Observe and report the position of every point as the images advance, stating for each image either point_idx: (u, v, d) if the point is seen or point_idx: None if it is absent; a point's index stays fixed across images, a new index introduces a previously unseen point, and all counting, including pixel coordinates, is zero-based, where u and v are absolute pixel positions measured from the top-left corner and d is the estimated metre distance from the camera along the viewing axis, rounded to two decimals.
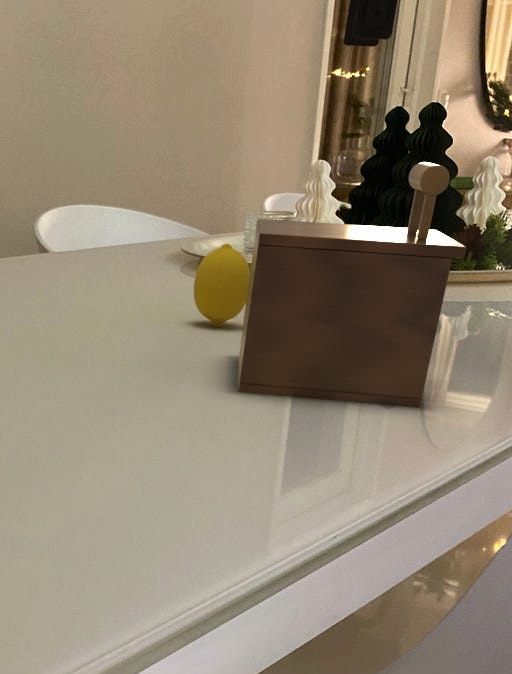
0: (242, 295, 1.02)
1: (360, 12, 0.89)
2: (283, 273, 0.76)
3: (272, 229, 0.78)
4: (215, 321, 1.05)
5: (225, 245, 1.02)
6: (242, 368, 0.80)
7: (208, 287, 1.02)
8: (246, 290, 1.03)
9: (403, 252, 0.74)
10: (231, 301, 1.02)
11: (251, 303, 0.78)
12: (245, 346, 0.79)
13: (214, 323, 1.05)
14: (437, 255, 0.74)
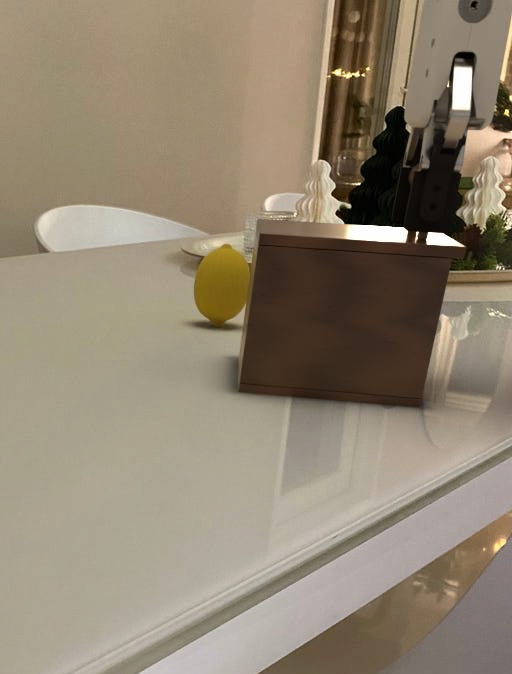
0: (242, 295, 1.02)
1: (413, 203, 0.75)
2: (283, 273, 0.76)
3: (272, 229, 0.78)
4: (215, 321, 1.05)
5: (225, 245, 1.02)
6: (242, 368, 0.80)
7: (208, 288, 1.02)
8: (246, 290, 1.03)
9: (403, 252, 0.74)
10: (231, 301, 1.02)
11: (251, 303, 0.78)
12: (245, 346, 0.79)
13: (214, 323, 1.05)
14: (437, 255, 0.74)
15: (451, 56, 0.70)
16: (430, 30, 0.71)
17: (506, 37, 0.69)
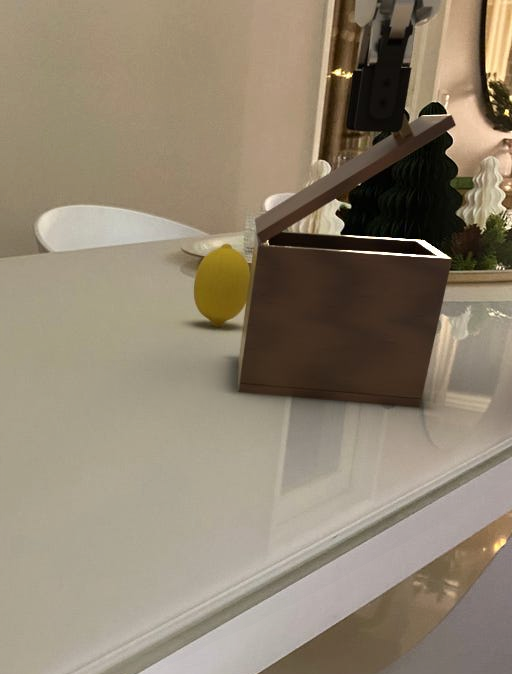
0: (242, 295, 1.02)
1: (363, 101, 0.73)
2: (283, 273, 0.76)
3: (267, 222, 0.78)
4: (215, 321, 1.05)
5: (225, 245, 1.02)
6: (242, 368, 0.80)
7: (208, 287, 1.02)
8: (246, 290, 1.03)
9: (395, 159, 0.72)
10: (231, 301, 1.02)
11: (251, 303, 0.78)
12: (245, 346, 0.79)
13: (214, 323, 1.05)
14: (429, 140, 0.71)
15: None
16: None
17: None
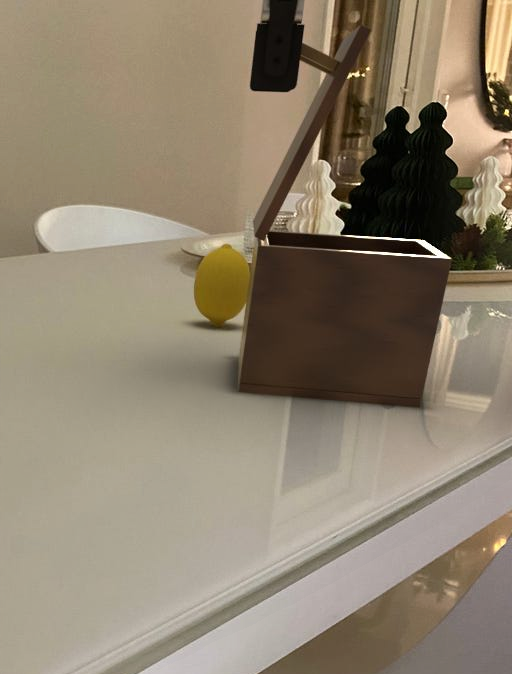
0: (242, 295, 1.02)
1: (257, 58, 0.73)
2: (283, 273, 0.76)
3: (260, 219, 0.78)
4: (215, 321, 1.05)
5: (225, 245, 1.02)
6: (242, 368, 0.80)
7: (208, 288, 1.02)
8: (246, 290, 1.03)
9: (336, 94, 0.71)
10: (231, 301, 1.02)
11: (251, 303, 0.78)
12: (245, 346, 0.79)
13: (214, 323, 1.05)
14: (355, 58, 0.70)
15: None
16: None
17: None
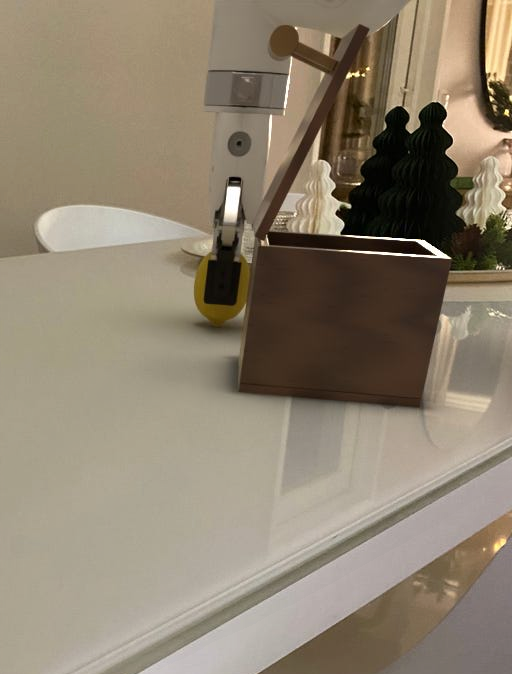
0: (242, 295, 1.02)
1: (208, 283, 1.01)
2: (283, 273, 0.76)
3: (259, 219, 0.78)
4: (215, 321, 1.05)
5: None
6: (242, 368, 0.80)
7: None
8: (246, 290, 1.03)
9: (335, 93, 0.71)
10: None
11: (251, 303, 0.78)
12: (245, 346, 0.79)
13: (214, 323, 1.05)
14: (354, 57, 0.70)
15: (225, 180, 0.95)
16: (212, 159, 0.96)
17: (263, 167, 0.95)
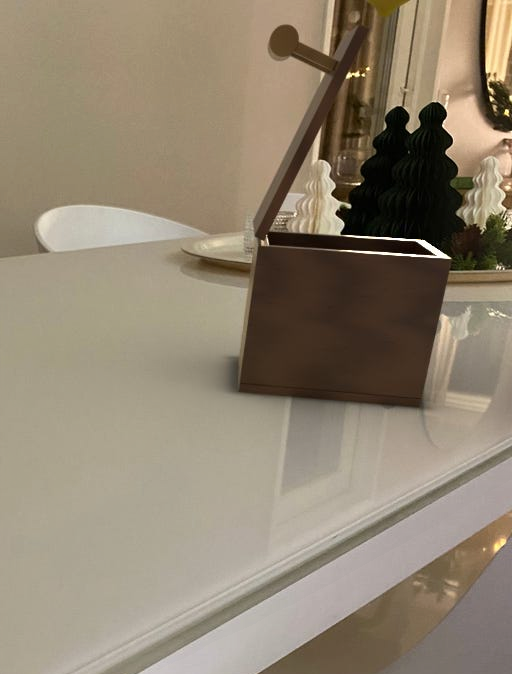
0: None
1: None
2: (283, 273, 0.76)
3: (259, 219, 0.78)
4: (383, 6, 0.77)
5: None
6: (242, 368, 0.80)
7: None
8: None
9: (335, 93, 0.71)
10: None
11: (251, 303, 0.78)
12: (245, 346, 0.79)
13: (382, 10, 0.77)
14: (354, 57, 0.70)
15: None
16: None
17: None
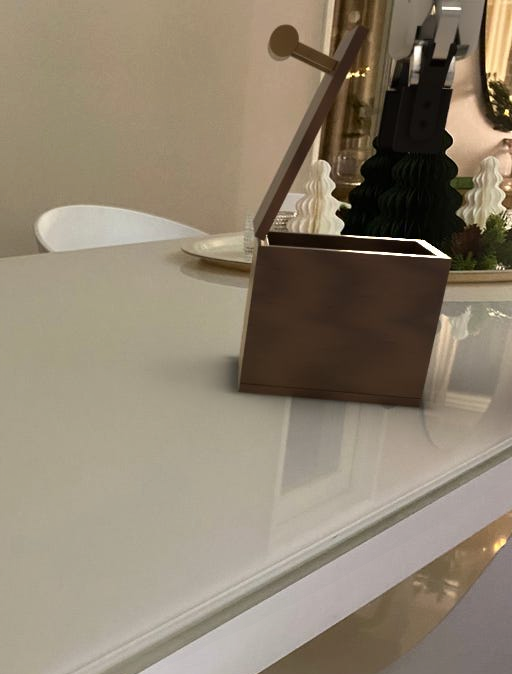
0: None
1: (402, 121, 0.72)
2: (283, 273, 0.76)
3: (259, 219, 0.78)
4: None
5: None
6: (242, 368, 0.80)
7: None
8: None
9: (335, 93, 0.71)
10: None
11: (251, 303, 0.78)
12: (245, 346, 0.79)
13: None
14: (354, 57, 0.70)
15: None
16: None
17: None
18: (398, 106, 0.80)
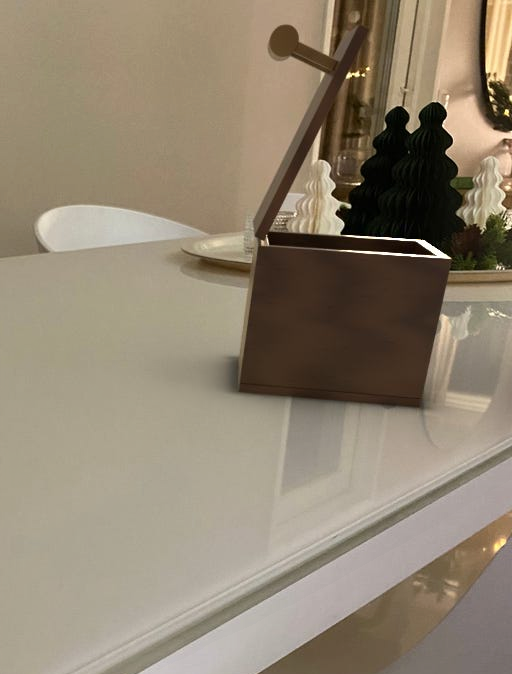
0: None
1: None
2: (283, 273, 0.76)
3: (259, 219, 0.78)
4: None
5: None
6: (242, 368, 0.80)
7: None
8: None
9: (335, 93, 0.71)
10: None
11: (251, 303, 0.78)
12: (245, 346, 0.79)
13: None
14: (354, 57, 0.70)
15: None
16: None
17: None
18: None
